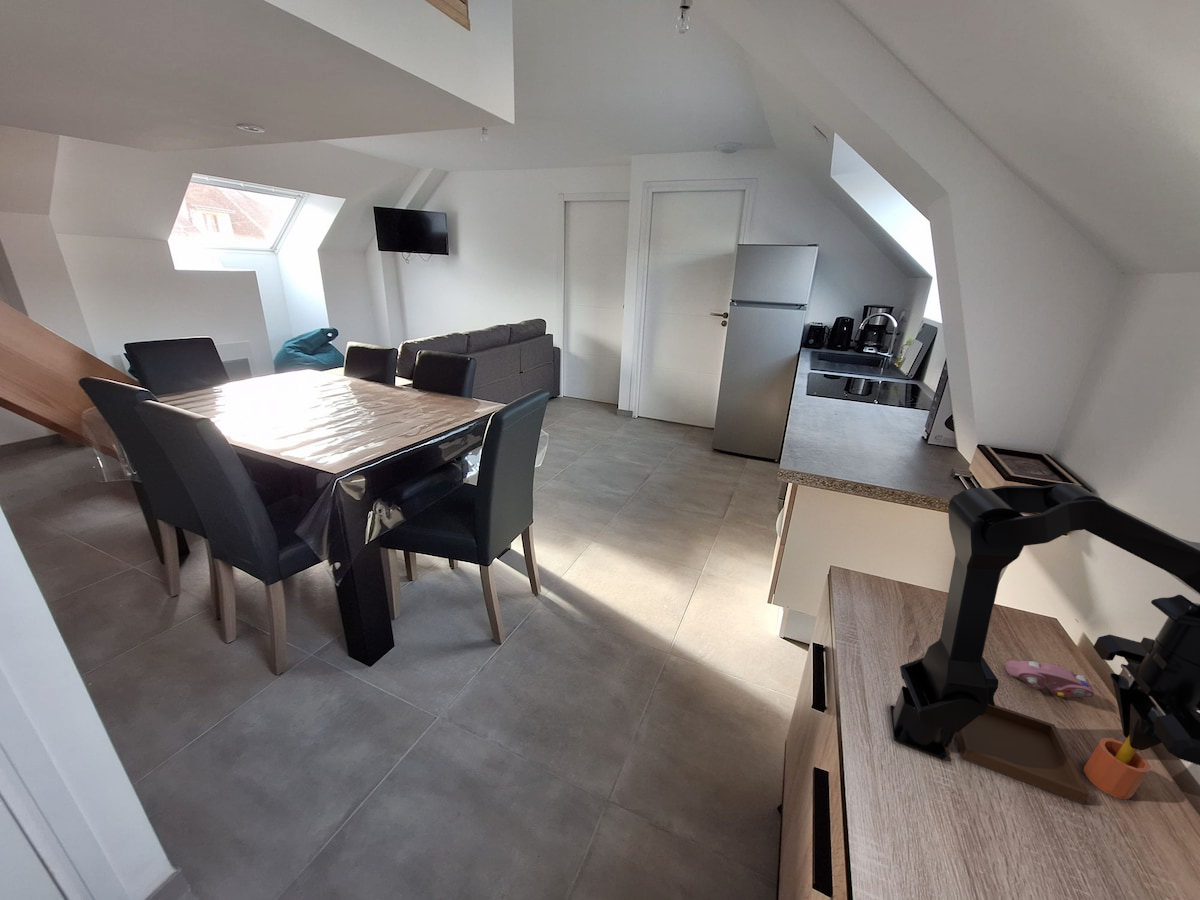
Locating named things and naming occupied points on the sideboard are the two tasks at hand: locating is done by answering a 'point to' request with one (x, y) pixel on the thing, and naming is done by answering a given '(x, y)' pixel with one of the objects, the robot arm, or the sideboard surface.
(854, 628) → the sideboard surface
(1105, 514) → the robot arm
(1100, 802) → the sideboard surface
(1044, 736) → the tray
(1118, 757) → the pencil
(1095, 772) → the pen pot
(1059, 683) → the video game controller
